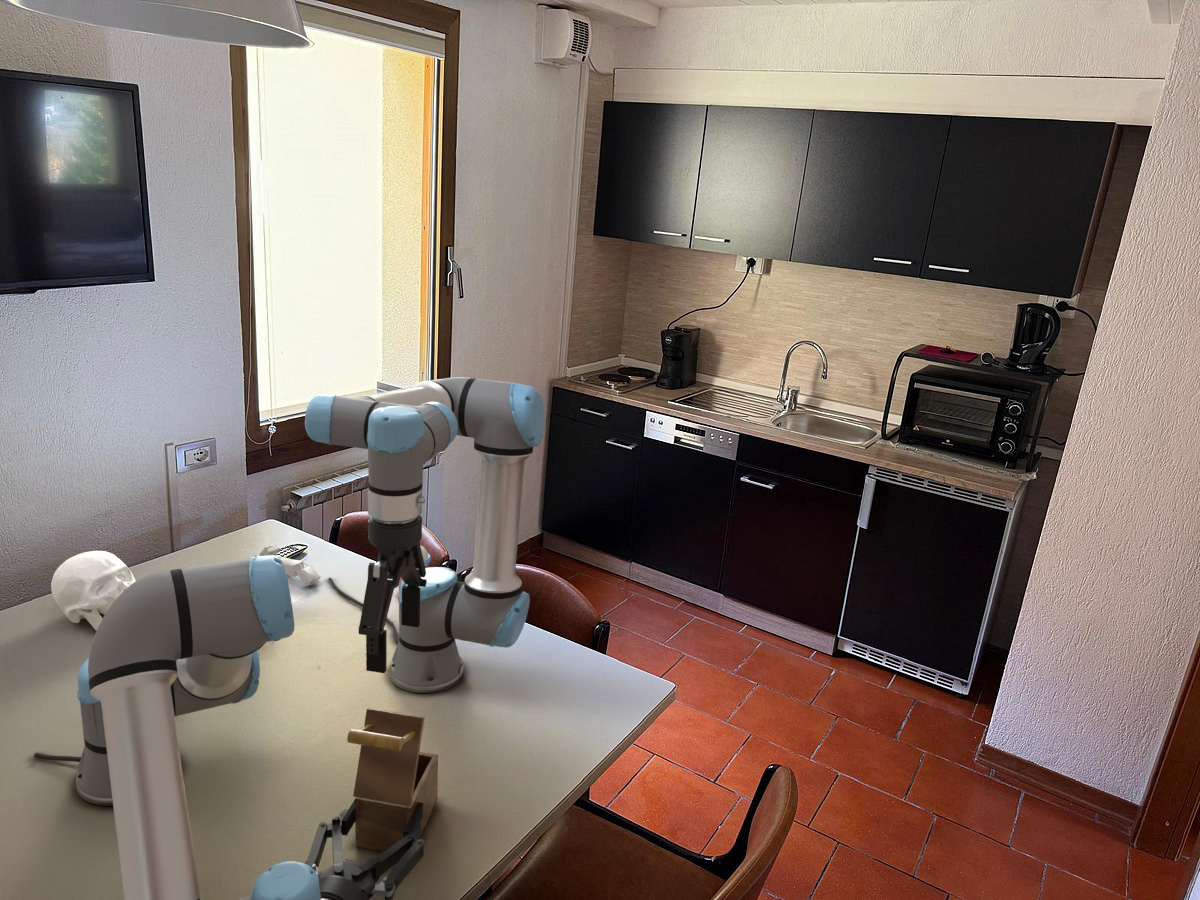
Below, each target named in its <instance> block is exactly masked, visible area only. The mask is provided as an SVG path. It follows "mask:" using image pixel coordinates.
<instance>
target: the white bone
mask: <svg viewBox="0 0 1200 900" xmlns="http://www.w3.org/2000/svg"><path fill="white" fill-rule="evenodd" d="M280 549H281V547H279V546H278V545H277V544H272V545H266V546H264V547H263V549H262V550H261V551H260V552H259V554H258V556H268V555H275V556H278V553H279V551H280ZM279 558H280V559H281V560H282V562H283V564H284V568H285V571H286V576H288V577H292V578H296V577H298V578H299V579H300V580H301V582H303V584H304V585H305V587H309V586H312V585H314V584H316V583H318V582H319V580H320V579H321V578H322V577H321V575H320V574H319V573H318V572H317V570H315V569H314V568H313V566H312V565H310V564H309V565H308V564H307V563H305V562H304V561H303V560H301V559H300V560H299V559H292V558H289V557H285V556H279ZM305 566H306V567H305Z"/></svg>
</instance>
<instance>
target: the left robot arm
mask: <svg viewBox="0 0 1200 900" xmlns="http://www.w3.org/2000/svg"><path fill="white" fill-rule="evenodd" d="M258 555H259V554H258ZM258 555H255V554H254V555H252V556H251V557H246V558H239V559H233V560H227V561H219V562H213V563H207V564H200V565H193V566H186V567H181V568H176V569H166V570H160V571H155V572H152V573H150V574H147V575H145V576H143V577H140V578H139V579H138V580H136V582H134V583H133V584H131V585H130V586H129V587H128V588H126V589H125V590H124V591H123V592H122V593H121V594H120V595H119V596H118V597H117V599H116V600H115V601H114V602H113V603H112V605H111V606H110V608H109V609H108V611H107V612H106V614H105V615H104V616H103V617H102V618H103V619H102V621H101V623H100V625H99V627H98V629H97V631H95V634H94V637H93V640H92V643H91V646H90V650H89V656H88V658H87V659H86V660H85V661H84V662H83V663H82V664H81V666H80V668H79V670H78V673H77V692H76V694H77V695H76V696H77V699H78V701H79V703H80V704H79V705H80V715H81V724H82V733H83V734H82V736H83V742H84V746H83V750H82V753H81V756H71V755H52V754H45V753H41V752H35V753H34V755H33V758H35V759H39V760H45V761H57V762H59V761H60V762H74V763H75V762H77V763H78V766H77V771H76V775H75V786H76V791H77V792H76V793H77V794H78V796H79V797H80V798H81V799H82V800H84V801H85V802H87V803H89V804H92V805H96V806H102V807H103V806H105V807H113V815H114V825H115V833H116V840H117V841H116V842H117V850H118V857H119V868H120V875H121V883H122V893H123V900H201V893H200V887H199V879H198V873H197V872H198V871H197V866H196V857H195V852H194V844H193V837H192V830H191V829H192V828H191V824H190V817H189V809H188V802H187V793H186V787H185V781H184V774H183V765H182V759H181V752H180V744H179V737H178V731H177V730H178V729H177V723H176V717H177V716H183V715H186V714H190V713H194V712H195V713H196V712H199V711H200V712H201V711H204V710H208V709H212V708H213V709H214V708H217V707H222V706H227V705H230V704H232V705H233V704H238V703H240V702H242V701H244V700H249V699H250V698H252V697H254V695H255V694H256V693H257V691H258V688H259V686H260V680H259V679H260V677H261V667H260V665H261V664H260V657H259V652H258V651H259V650H260V649H261V648H262V647H263V646H264V645H266V643H269V642H278V641H281V640H282V639H286V638H290V637H291V636H292V635H293V634H294V632H295V618H294V609H293V603H292V597H291V590H290V586H289V581H288V577H287V575H286V571H285V568H284V564H283V562H282V560H281V559H280V556H278V555H277V556H275V555H268V556H258ZM422 818H423V803H420V802H418V804H417V806H416V808H415V810H414V812H413V814H412V816H411V818H410V819H409V821H408V823H407V825H406V827H405V829H404V831H403V838H402V839H401V840H400V841H398V842H397V843H395V844H394V845H393V846H391V847H390V848H389V849H387V850H386V851H382V853H380V854H379V855H378V856H376V857H371V858H370V859H368V860H367V861H366V862H364V861H354V860H353V859H352V860H351V859H347V858H345V860H344V859H343V846H342V843H343V842H342V836H348V834H349V833H350V831H351V829H352V828H353V826H354V825H355V799H354V800H353V802H352V803H351V805H350V806H349V808H348V809H347V808H344V809H342V810H341V812H340V813H339V815H338V816H334V817H333V818H332V819H331V823H327V822H326V821H321V822H320V823H318V826H317V829H316V832H315V836H314V838H313V842H312V845H311V848H310V851H309V854H308V857H307V860H306V861H305V862H302V861H296V860H286V861H282V862H278V863H276V864H273V865H271V866H270V867H269V868H268V869H267V870H266V871H264V872H262V873H261V874H260V875H259V876H258V877H257V878H256V880H255V882H254V884H253V888H252V891H251V894H250V895H247V896H245V897H242V898H239V899H238V900H371V899H372V898H374V896H380V897H381V896H382V897H384V900H393V899H394V897H395V895H396V891H397V889H398V888H399V886H400V885H401V884H402V883H403V882H404V880H405V879H406V878H407V877H408V875H409V874H410V873H411V872H412V871H413V870H414V868H415V867H416V866H417V865H418V863H420V861H421V860H422V858H424V856H425V840H424V839H422V838H420V837H421V835H422V833H421V820H422ZM420 834H421V835H420ZM419 836H420V837H419ZM328 838H331V839H332V841H331V842H332V862H333V864H332V865H331V866H329V867H328V868H326V869H324V870H322V871H320V872H319V867H320V864H321V860H322V857H323V854H324V850H325V848H326V843H327V840H328ZM418 838H419V839H418ZM389 870H390V871H389ZM388 871H389V872H388ZM387 872H388V874H387V876H383V878H382V880H381V881H380V878H381V876H382V875H384V874H385V873H387ZM379 881H380V882H379ZM377 882H379V883H377Z"/></svg>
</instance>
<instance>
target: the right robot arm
mask: <svg viewBox="0 0 1200 900" xmlns="http://www.w3.org/2000/svg"><path fill="white" fill-rule="evenodd" d="M544 404H545V403H544V399H543V398H542V395H541V393H540V391H539V390H538V389H537V388H536V387H534V386H531V385H527V384H523V383H519V382H511V381H502V380H492V379H482V378H474V377H467V376H457V377H455V376H453V377H445V378H437V379H430V380H424V381H420V382H417V383H415V384H414V385H412V386H411V387H410V388H406V389H405V388H404V389H398V390H391V391H384V392H376V393H369V394H362V395H351V396H342V395H337V394H335V393H334V394H316V395H315V396H313V398H311V399H310V401H309V402H308V404H307V406H306V410H305V414H304V428H305V431H306V434H307V436H308V437H309V438H310V439H311V440H312V441H314V442H317V443H322V444H327V445H328V446H332V445H333V446H341V447H347V448H349V447H350V448H355V449H363V450H364V449H365V450H367V463H368V464H367V468H368V470H367V471H368V482H367V514H368V515H369V516H368V519H367V538H368V542H369V543H370V544H371V545H372V546H374V547H375V548H377V550H378V551H379V552H378V555H377V558H376V562H369V563H368V566H367V581H366V587H365V592H364V598H363V602H360V601H358V600H357V599H355V598H353V597H352V596H350V595H349V594H347V593H345V592H343V590H341V589H340V588H339V587H338V586H337V585H336V583H335V582H334V580H333V578H332V577H328V581H329V583H330V584H331V586H332V587H333V589H334V590H335V591H336V592H337V593H338V594H340V595H341V596H342V597H344V598H346V599H347V600H349V601H350V602H352V603H354V604H356V605H357V606H359V607H361V608H362V610H361V615H360V620H359V626H358V633H357V634H359V635H363V636H365V643H366V644H365V649H366V650H365V662H366V664H365V669H366V671H367V672H372V673H373V672H374V673H380V674H385V673H386V672H387V660H388V659H387V656H388V653H387V649H388V647H387V645H388V644H387V642H388V641H387V637H388V636H387V635H388V631H387V629H385V626H386V623H387V624H388V625H389V626H390V627H391V629H392V632H393V639H394V641H395V643H396V644H397V645H396V648H395V651H394V653H393V656H392V659H391V660H390V666H389V679H390V681H391V682H392V683H393V684H394V685H395V686H396V687H398V688H399V689H401V690H404V691H407V692H410V693H416V694H430V693H431V694H432V693H438V692H441V691H445V690H447V689H450V688H451V687H453V686H455V685H456V684H457V683H458V682H459V681H460V680H461V679H462V676H463V672H464V666H465V665H464V664H465V663H464V662H463V660H462V657H461V656H460V653H459V649H458V646H457V642H456V640H459V641H464V642H469V643H473V644H478V645H479V644H480V645H484V646H489V647H490V648H492V647H493V648H494V647H498V648H506V649H507V648H511V647H513V646H514V645H515V644H516V643H517V641H518V640H519V638H520V636H521V633H522V631H523V629H524V626H525V623H526V621H527V617H528V612H529V609H530V603H531V598H530V594H529V593H527V592H526V591H522V586H523V581H522V579H521V578H520V576H518V575H517V574H516V567H517V555H518V543H519V532H520V520H521V519H520V517H521V507H522V496H523V495H522V494H523V483H524V470H525V461H526V460H527V459H528V458H529V457H530V456H532V455H533V453H534V448H535V447H538V446H540V445H541V444H542V441H543V439H544V431H545V429H546V412H545V405H544ZM457 436H459V437H465V438H473V439H474V440H473V450H474V452H475V453H476V454H477V455H478V456H479V457H480V465H479V466H480V467H479V481H478V495H477V507H476V510H477V511H476V521H475V536H474V551H473V566H472V571H471V572H470V573H468V574H467V575H466V576H465V578H464V581H459V580H458V578H459V577H458V575H457V572H456V571H455V570H453V569H451V568H450V567H444V566H443V567H442V566H432V567H431V566H430V567H428V568H425V565H424V560H423V555H422V551H421V546H422V545H421V541H422V538H423V517H422V516H421V514H422V513H423V504H425V503H426V497H425V496H423V486H424V485H423V484H424V483H423V481H424V464H425V463H427V462H428V461H429V460H431V459H432V458H434V457H436V456H437V455H438V454H440V453H443V452H444V451H445V450H446V449H447V448H448V447H449V446H450V444H452V443H453V442H454V440H455V439H456V437H457ZM420 545H421V546H420ZM416 568H417V569H416ZM400 578H402V579H403V580H402V582H401V584H400V593H399V592H398V598H397V601H398V631H397V627H396V625H395V624H394V622H392V620H391V619H390V618H388V616H389V615H388V614H389V611H390V607H391V603H392V600H393V595H394V592H395V589H396V588H399V587H398V585H399V581H400Z"/></svg>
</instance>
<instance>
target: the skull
mask: <svg viewBox="0 0 1200 900" xmlns="http://www.w3.org/2000/svg"><path fill="white" fill-rule="evenodd" d="M51 578H52V579H51V584H50V589H51V595H52V597H53V601H54V602H55V603H56V605H57V606H58V608H59V609H60V610H61V612H63V614H64V615H65V617H66V618H67V619H68V620H69V621H70V622H71V623H75V624H78V623H80V622H81V620H82V619H85V620H87V622H88V623H89V624H90V625H91V626H92V628H93V629H94V630H95V632H97V629H98V627H99V625H100V623H101V621H102V619H103V617H102V616H101V614H102V615H104V616H105V614H106V612H107V611H108V609H109V608H110V606H111V605H112V603H113V602H114V601H115V600H116V599H117V597H118V596H119V595H120V594H121V593H122V592H123V591H124V590H125V589H126V588H128V587H129V586H130V585H131V584H133V583H134V582H136V581H137V580H136V578H135V577H134V574H133V572H132V571H131V569H130V568H129V567H128V566H127V565H126V563H124V562H123V561H122V560H121V559H120V558H119V557H117V556H116V555H115V554H114V553H112V552H109V551H105V550H90V551H84V552H81V553H78V554H76V555H74V556H71V557H69V558H68V559H66V560H64V561H63V562H62V563H61V564H60V565H59V566H58V567H57V569H56V570H55V572H54V573H53V574H52V577H51Z"/></svg>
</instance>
